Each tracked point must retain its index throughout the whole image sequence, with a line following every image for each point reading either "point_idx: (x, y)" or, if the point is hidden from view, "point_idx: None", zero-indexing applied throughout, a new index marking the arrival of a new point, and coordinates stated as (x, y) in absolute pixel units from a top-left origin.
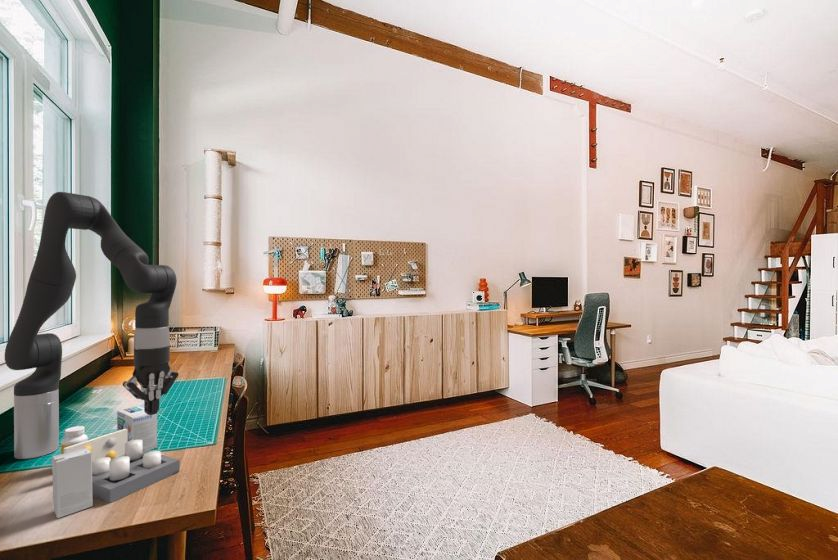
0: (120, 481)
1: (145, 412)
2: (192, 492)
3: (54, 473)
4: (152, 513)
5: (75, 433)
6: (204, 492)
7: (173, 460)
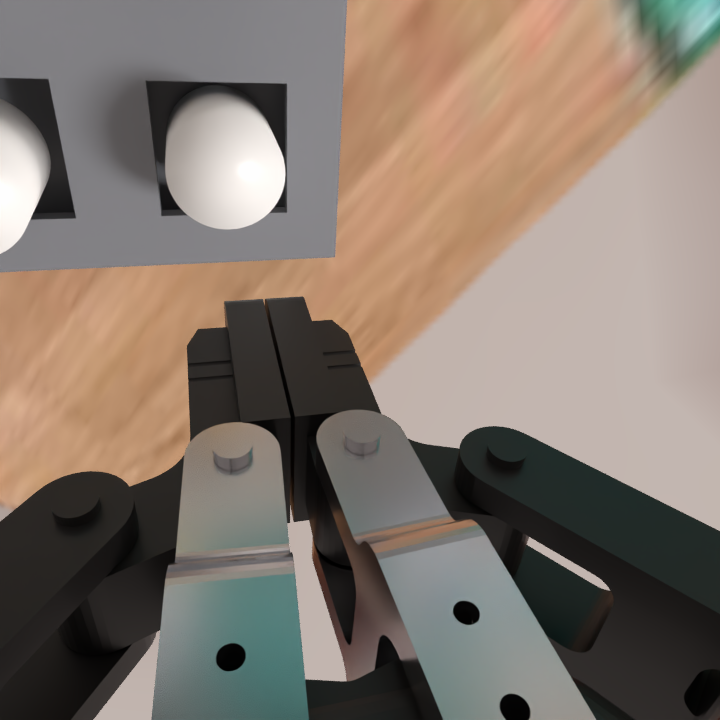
0: None
1: (196, 342)
2: None
3: None
4: (27, 466)
5: None
6: None
7: (315, 232)
